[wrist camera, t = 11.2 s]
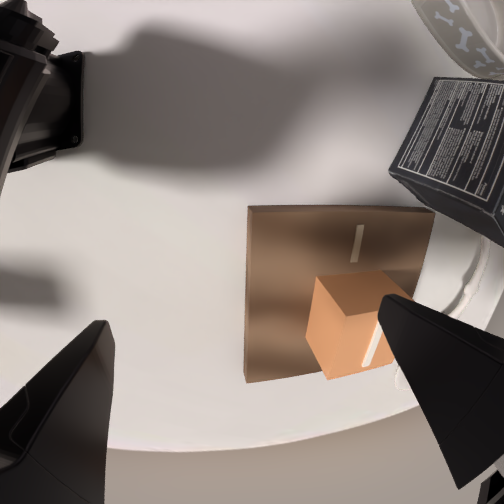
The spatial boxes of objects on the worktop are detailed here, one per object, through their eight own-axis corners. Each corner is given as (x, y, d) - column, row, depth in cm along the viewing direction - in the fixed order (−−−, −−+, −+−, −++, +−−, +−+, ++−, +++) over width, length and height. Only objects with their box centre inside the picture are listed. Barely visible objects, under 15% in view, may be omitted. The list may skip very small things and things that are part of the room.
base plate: (247, 205, 20) (263, 229, 16) (424, 207, 23) (459, 225, 19) (243, 371, 26) (252, 408, 22) (384, 345, 30) (404, 372, 26)
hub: (364, 327, 25) (393, 364, 21) (305, 337, 24) (328, 382, 19) (381, 270, 23) (418, 304, 18) (316, 276, 21) (347, 318, 17)
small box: (427, 209, 23) (515, 260, 14) (384, 172, 21) (489, 217, 11) (469, 120, 20) (558, 142, 11) (433, 74, 18) (535, 79, 8)
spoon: (509, 163, 23) (530, 171, 20) (420, 373, 36) (431, 388, 33) (476, 137, 21) (501, 144, 18) (376, 383, 34) (388, 401, 30)
